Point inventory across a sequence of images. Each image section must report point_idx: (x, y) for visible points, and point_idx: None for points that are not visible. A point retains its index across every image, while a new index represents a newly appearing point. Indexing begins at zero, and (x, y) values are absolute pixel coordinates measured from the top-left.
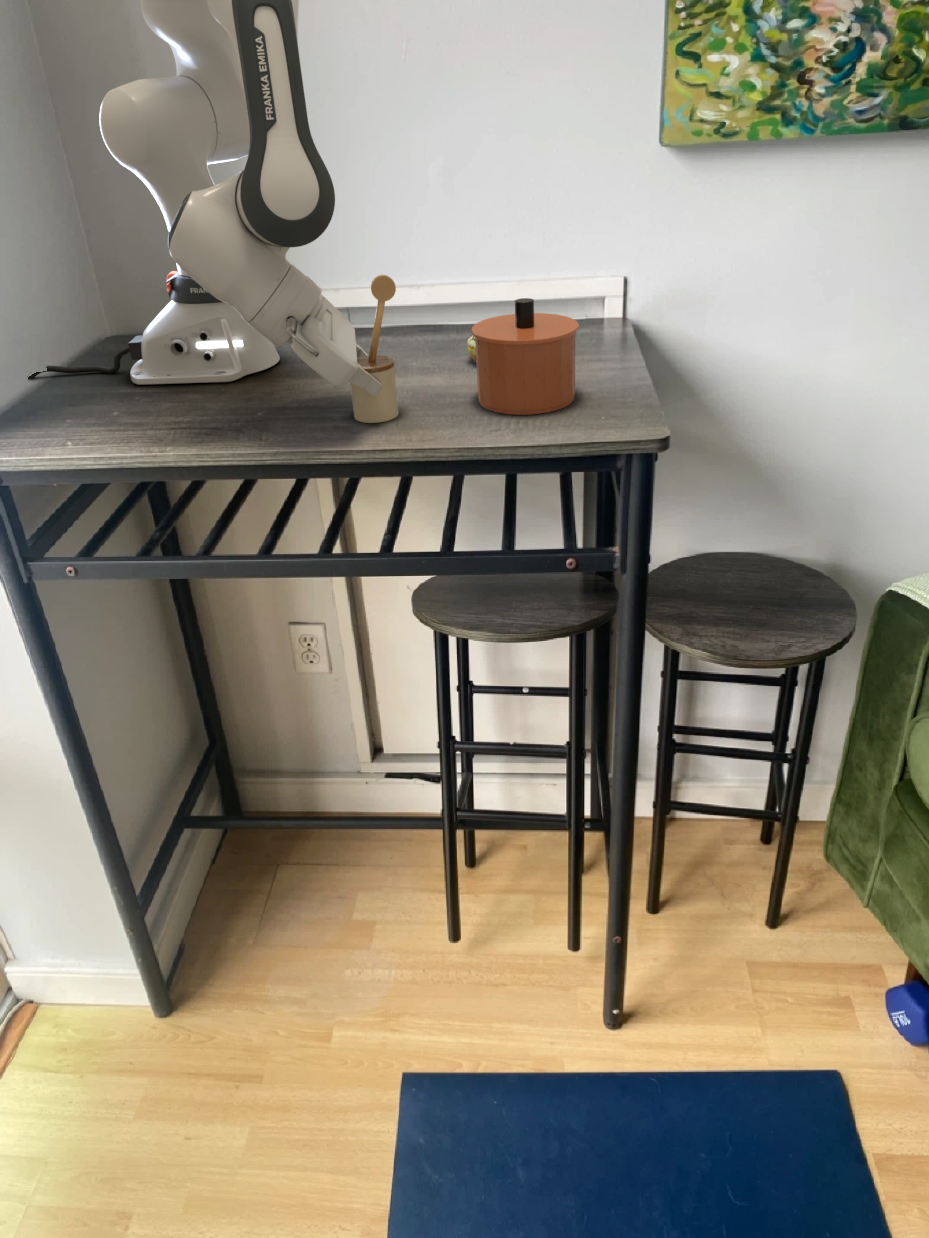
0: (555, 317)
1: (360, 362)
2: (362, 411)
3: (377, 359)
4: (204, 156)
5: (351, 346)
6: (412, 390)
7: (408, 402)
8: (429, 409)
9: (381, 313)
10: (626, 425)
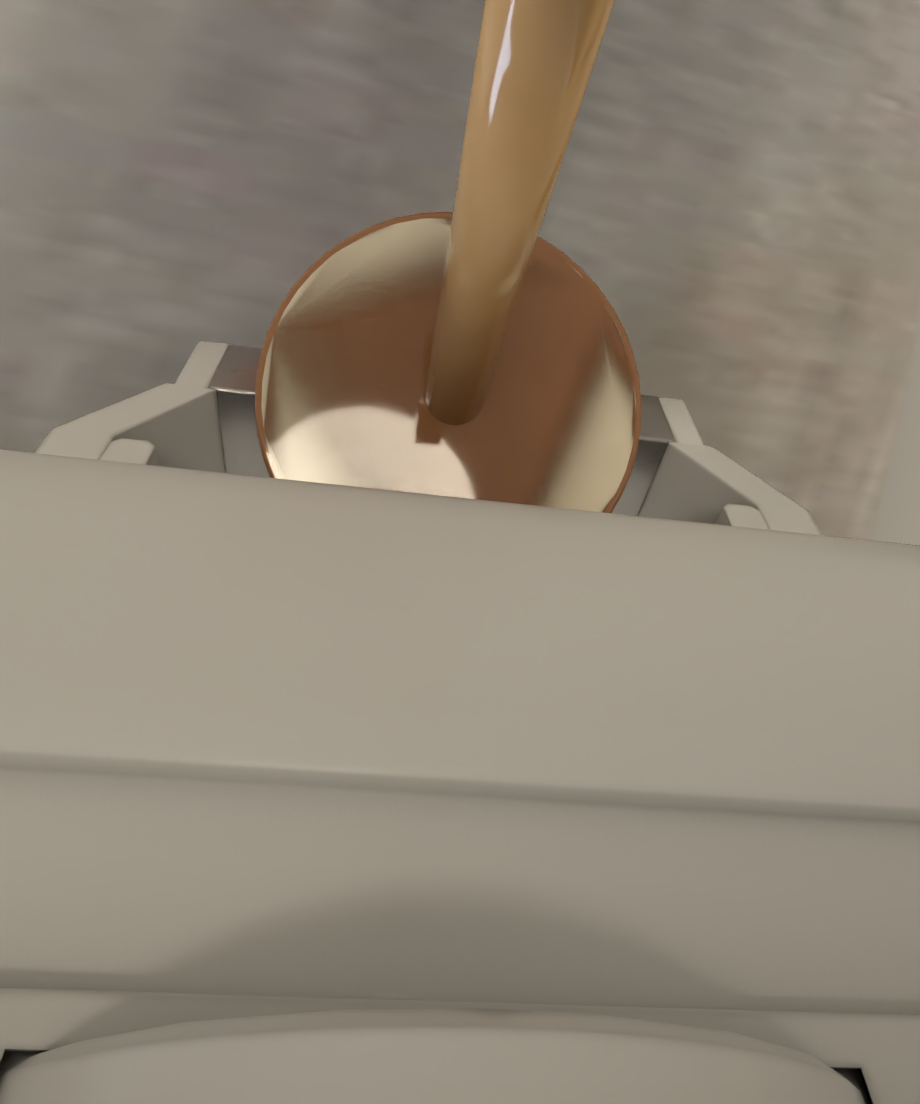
0: None
1: (438, 487)
2: None
3: (403, 338)
4: None
5: (666, 558)
6: (65, 205)
7: (275, 271)
8: (432, 193)
9: None
10: None
